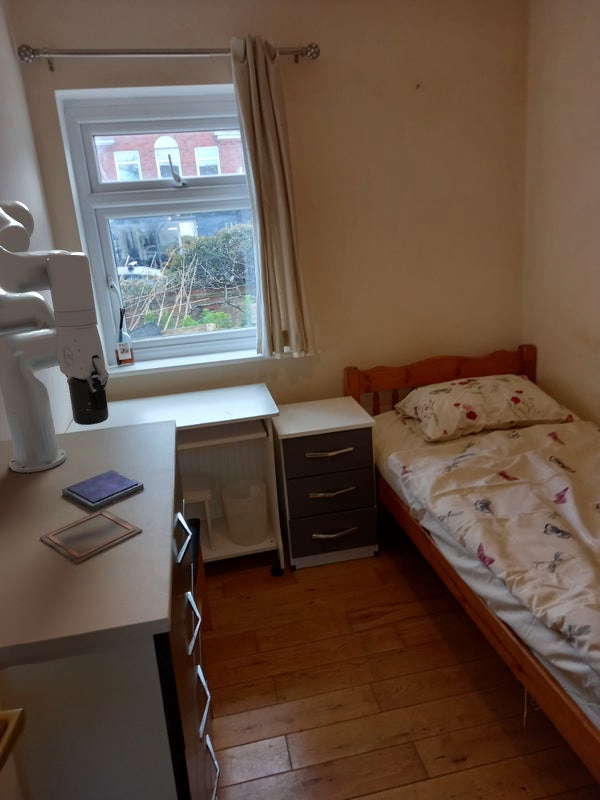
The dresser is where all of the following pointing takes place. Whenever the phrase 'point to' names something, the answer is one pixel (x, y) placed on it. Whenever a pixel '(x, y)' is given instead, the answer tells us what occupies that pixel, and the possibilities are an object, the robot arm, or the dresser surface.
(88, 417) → the supplement bottle
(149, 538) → the dresser surface
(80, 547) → the marked board
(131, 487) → the ink pad
